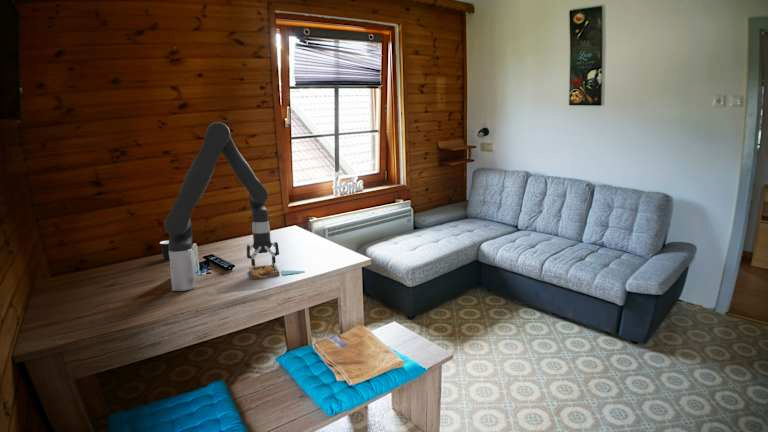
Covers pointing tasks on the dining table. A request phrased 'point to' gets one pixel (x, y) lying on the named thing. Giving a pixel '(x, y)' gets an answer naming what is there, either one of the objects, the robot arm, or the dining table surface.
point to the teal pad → (290, 272)
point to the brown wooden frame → (268, 274)
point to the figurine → (266, 269)
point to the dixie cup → (165, 250)
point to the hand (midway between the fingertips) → (263, 265)
